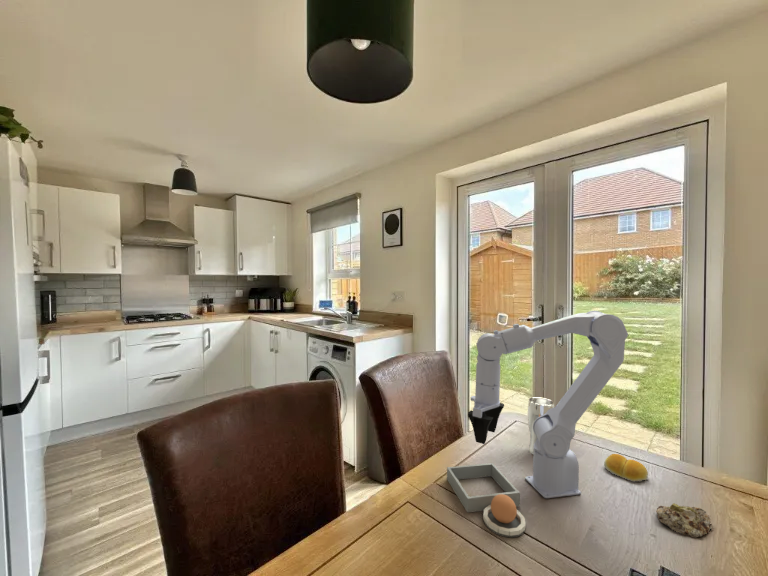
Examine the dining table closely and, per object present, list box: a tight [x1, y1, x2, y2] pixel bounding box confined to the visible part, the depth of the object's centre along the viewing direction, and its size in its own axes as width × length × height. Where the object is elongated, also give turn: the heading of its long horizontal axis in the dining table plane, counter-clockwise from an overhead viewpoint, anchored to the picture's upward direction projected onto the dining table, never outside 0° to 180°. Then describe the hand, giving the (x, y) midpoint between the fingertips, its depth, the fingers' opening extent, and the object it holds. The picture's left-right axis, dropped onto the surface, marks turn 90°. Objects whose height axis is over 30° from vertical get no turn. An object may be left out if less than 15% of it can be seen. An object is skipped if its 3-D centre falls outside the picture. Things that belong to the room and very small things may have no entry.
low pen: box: [446, 462, 521, 513], centre depth 80 cm, size 12×12×3 cm
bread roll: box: [603, 453, 649, 482], centre depth 89 cm, size 8×9×4 cm
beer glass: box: [527, 396, 555, 455], centre depth 98 cm, size 7×7×15 cm
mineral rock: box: [655, 502, 713, 538], centre depth 70 cm, size 11×4×8 cm
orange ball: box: [491, 494, 518, 523], centre depth 70 cm, size 5×5×5 cm
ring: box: [482, 505, 526, 538], centre depth 70 cm, size 8×8×1 cm
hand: (485, 436), depth 85 cm, fingers open, 7 cm apart
